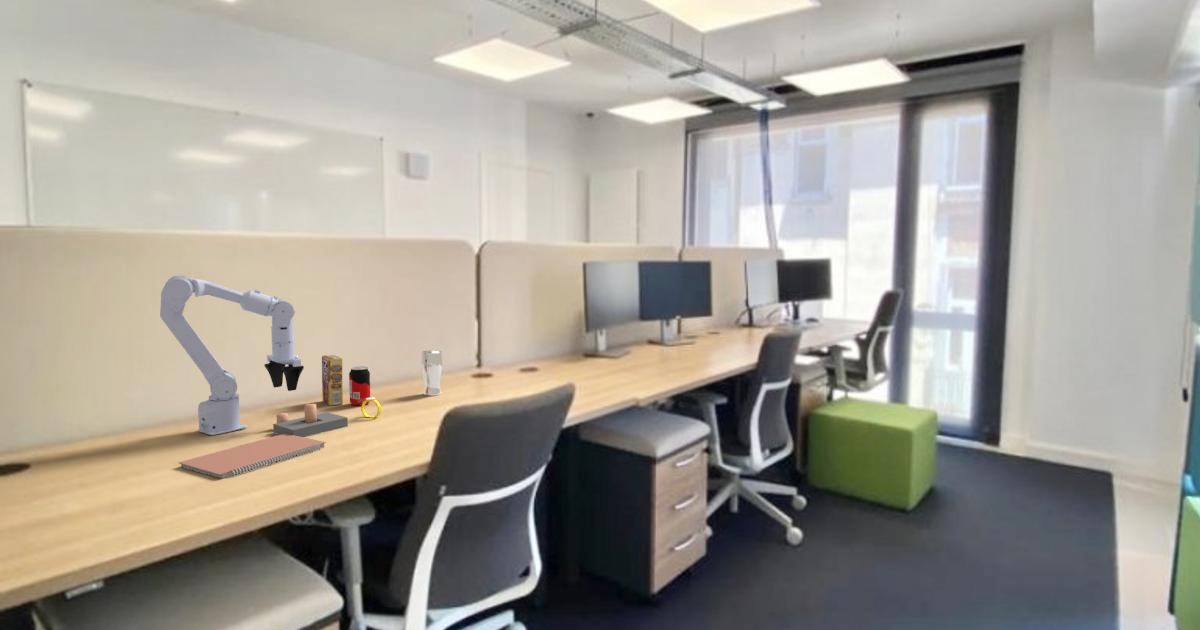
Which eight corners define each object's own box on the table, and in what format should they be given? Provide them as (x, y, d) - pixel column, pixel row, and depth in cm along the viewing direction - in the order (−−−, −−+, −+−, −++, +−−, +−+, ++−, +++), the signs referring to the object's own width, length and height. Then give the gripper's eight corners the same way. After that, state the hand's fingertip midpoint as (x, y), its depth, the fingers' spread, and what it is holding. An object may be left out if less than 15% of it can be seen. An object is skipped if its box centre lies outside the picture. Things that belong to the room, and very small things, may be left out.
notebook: (223, 482, 138) (222, 473, 138) (178, 469, 146) (178, 461, 146) (328, 449, 162) (328, 441, 162) (285, 439, 170) (285, 432, 170)
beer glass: (446, 393, 224) (446, 351, 223) (431, 397, 218) (431, 354, 217) (432, 391, 228) (432, 349, 227) (417, 394, 222) (417, 352, 221)
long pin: (308, 431, 176) (308, 406, 175) (303, 429, 177) (302, 405, 177) (319, 429, 178) (318, 404, 177) (313, 427, 180) (312, 403, 179)
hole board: (293, 439, 168) (293, 430, 168) (273, 432, 174) (273, 423, 174) (347, 426, 181) (347, 417, 181) (327, 420, 187) (327, 412, 187)
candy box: (344, 404, 207) (342, 357, 206) (330, 406, 205) (328, 359, 203) (335, 399, 214) (334, 354, 213) (322, 400, 211) (320, 355, 210)
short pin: (280, 430, 177) (280, 416, 176) (274, 428, 178) (274, 414, 178) (291, 428, 179) (290, 414, 179) (285, 426, 181) (284, 412, 180)
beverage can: (366, 406, 204) (365, 369, 203) (346, 406, 204) (345, 369, 203) (373, 402, 211) (372, 366, 209) (354, 401, 211) (353, 366, 210)
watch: (360, 418, 191) (358, 399, 190) (365, 416, 193) (364, 397, 193) (378, 418, 189) (376, 399, 189) (383, 416, 192) (381, 397, 191)
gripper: (310, 342, 182) (312, 389, 183) (283, 338, 190) (284, 383, 191) (286, 345, 176) (288, 393, 178) (259, 341, 184) (261, 387, 186)
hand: (284, 388), depth 184 cm, fingers open, 7 cm apart
